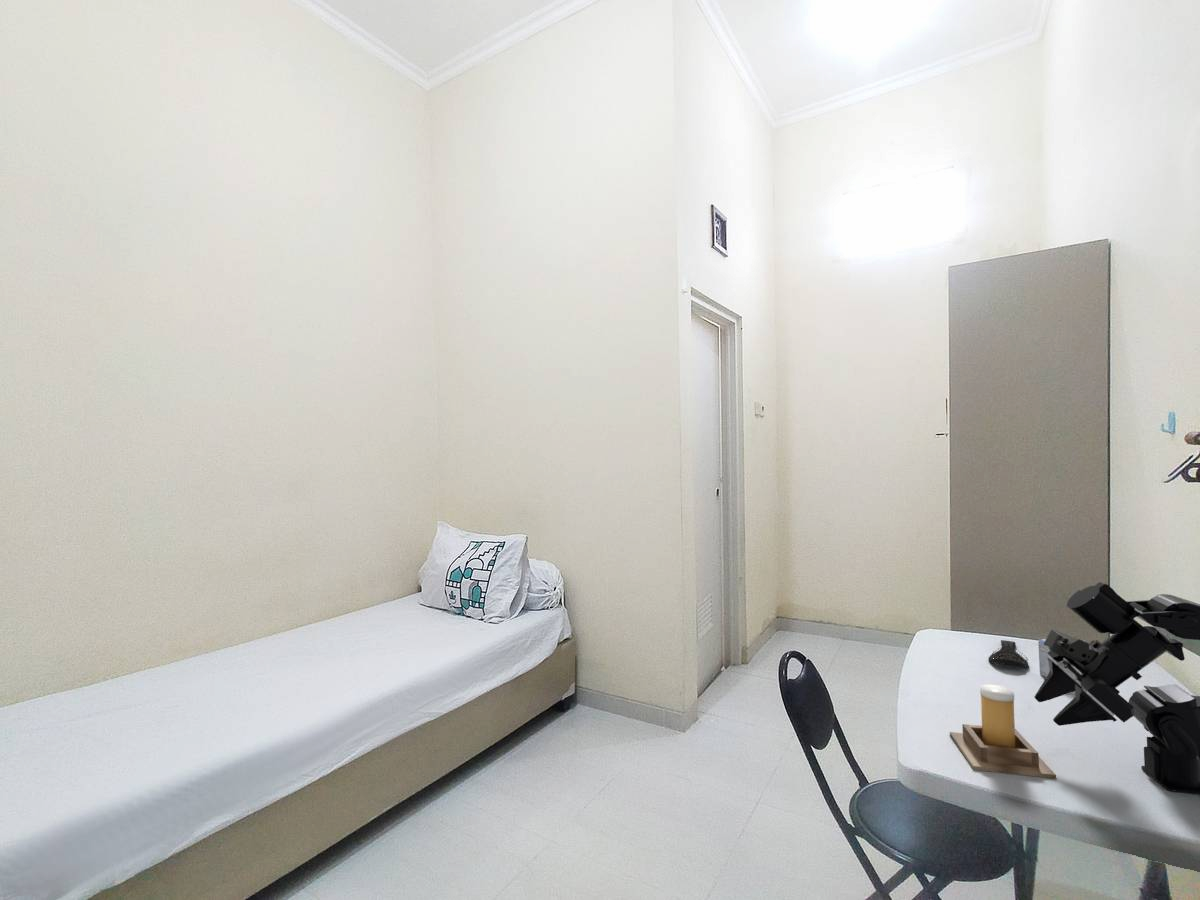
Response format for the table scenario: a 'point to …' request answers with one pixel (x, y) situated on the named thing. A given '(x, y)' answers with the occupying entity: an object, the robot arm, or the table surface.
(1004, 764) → the bottle holder
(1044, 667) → the medicine box
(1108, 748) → the table surface
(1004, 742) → the pill bottle
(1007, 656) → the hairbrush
